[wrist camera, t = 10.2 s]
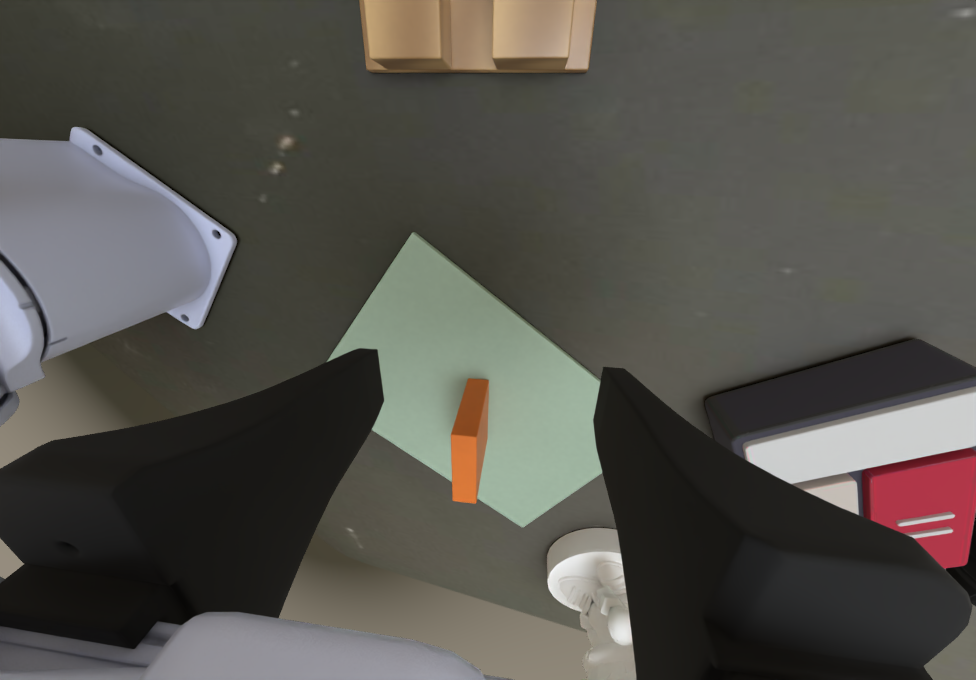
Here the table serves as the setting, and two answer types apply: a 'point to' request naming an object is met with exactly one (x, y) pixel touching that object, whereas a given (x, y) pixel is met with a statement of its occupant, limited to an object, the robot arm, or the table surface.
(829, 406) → the calculator
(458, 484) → the block
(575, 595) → the character figurine
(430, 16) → the holder
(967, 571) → the tape measure
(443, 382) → the mat
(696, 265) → the table surface
